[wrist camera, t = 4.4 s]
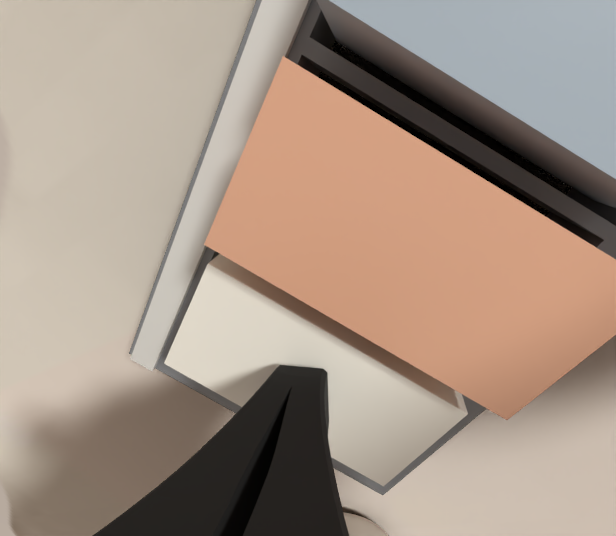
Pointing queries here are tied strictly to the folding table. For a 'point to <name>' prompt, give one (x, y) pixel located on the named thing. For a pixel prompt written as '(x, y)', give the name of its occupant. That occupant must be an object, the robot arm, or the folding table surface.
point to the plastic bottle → (362, 526)
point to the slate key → (505, 72)
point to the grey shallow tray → (229, 147)
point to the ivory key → (316, 354)
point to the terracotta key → (411, 247)
